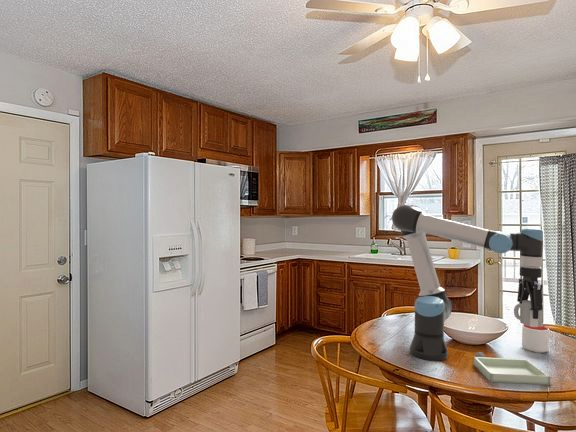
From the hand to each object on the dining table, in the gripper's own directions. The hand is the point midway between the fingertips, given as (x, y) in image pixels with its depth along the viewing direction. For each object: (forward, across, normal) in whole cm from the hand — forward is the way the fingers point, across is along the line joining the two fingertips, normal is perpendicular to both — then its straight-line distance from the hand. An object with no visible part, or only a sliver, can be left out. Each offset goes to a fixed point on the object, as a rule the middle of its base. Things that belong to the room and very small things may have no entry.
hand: (528, 323), depth 157 cm
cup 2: (+16, +17, -12) cm, 26 cm away
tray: (+16, -13, +12) cm, 24 cm away
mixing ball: (+14, -1, +18) cm, 23 cm away
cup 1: (0, 0, 0) cm, 1 cm away
